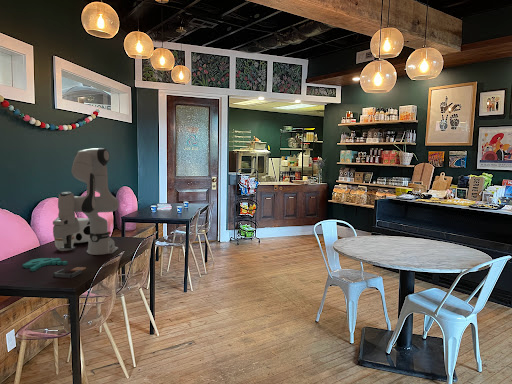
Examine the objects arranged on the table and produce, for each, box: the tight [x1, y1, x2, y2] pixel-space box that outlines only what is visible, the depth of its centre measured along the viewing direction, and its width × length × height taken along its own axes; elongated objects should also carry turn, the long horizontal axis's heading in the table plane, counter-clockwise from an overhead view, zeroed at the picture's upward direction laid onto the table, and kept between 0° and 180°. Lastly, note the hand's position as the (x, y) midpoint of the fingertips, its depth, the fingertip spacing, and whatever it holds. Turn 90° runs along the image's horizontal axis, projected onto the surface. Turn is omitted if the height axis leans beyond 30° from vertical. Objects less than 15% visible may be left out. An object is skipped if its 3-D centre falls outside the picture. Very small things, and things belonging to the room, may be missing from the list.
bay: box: [52, 268, 83, 279], centre depth 209 cm, size 9×11×2 cm
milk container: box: [73, 217, 90, 245], centre depth 290 cm, size 17×17×18 cm
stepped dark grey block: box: [60, 235, 76, 251], centre depth 223 cm, size 4×7×8 cm, turn 83°
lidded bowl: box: [53, 236, 75, 252], centre depth 267 cm, size 13×13×11 cm
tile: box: [70, 266, 87, 272], centre depth 220 cm, size 6×6×1 cm
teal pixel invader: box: [22, 257, 69, 272], centre depth 229 cm, size 20×2×20 cm
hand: (67, 242), depth 223 cm, fingers closed on stepped dark grey block, 2 cm apart
